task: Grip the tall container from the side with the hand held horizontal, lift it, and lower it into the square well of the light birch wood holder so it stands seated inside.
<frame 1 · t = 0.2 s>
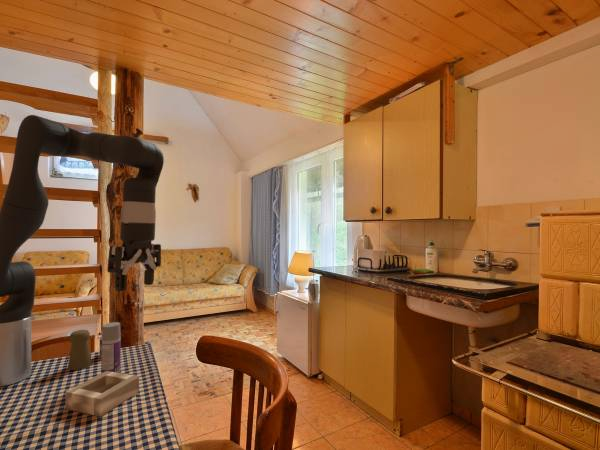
hand: (135, 287, 74), 29 cm above the table, tool pointing down, fingers open, 8 cm apart
container: (111, 376, 89), on the table
pill bottle: (107, 355, 103), on the table
olive pepper mill: (79, 366, 95), on the table
square holder: (103, 399, 77), on the table
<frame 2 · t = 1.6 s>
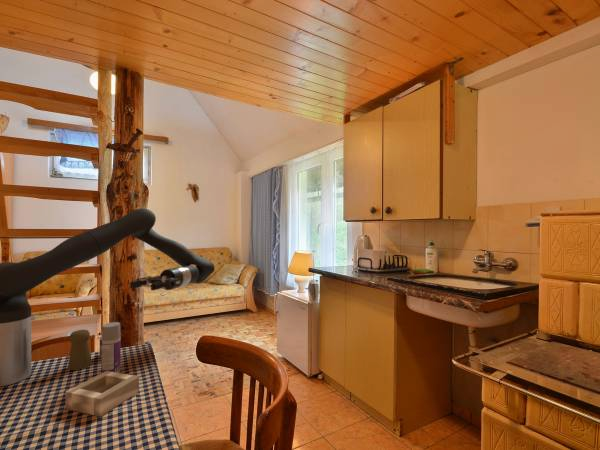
hand: (141, 286, 99), 24 cm above the table, tool horizontal, fingers open, 8 cm apart
nothing on the table moved.
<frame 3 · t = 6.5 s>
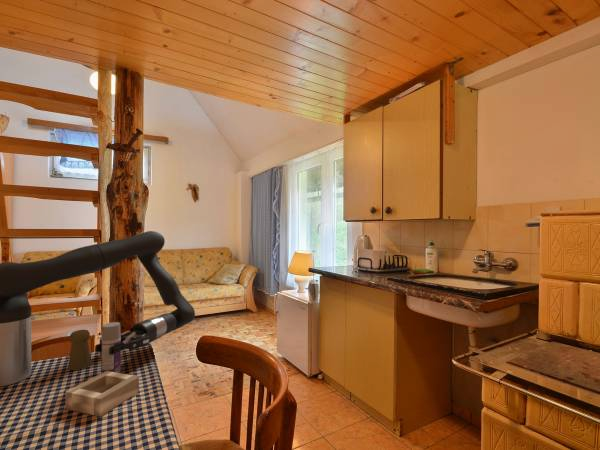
hand: (103, 350, 86), 9 cm above the table, tool horizontal, fingers closed on container, 4 cm apart
container: (111, 376, 89), on the table, touching gripper
everything else where it was.
when the fingers open (10 cm above the table, at t = 11.1 s): container drops 1 cm, resting in square holder.
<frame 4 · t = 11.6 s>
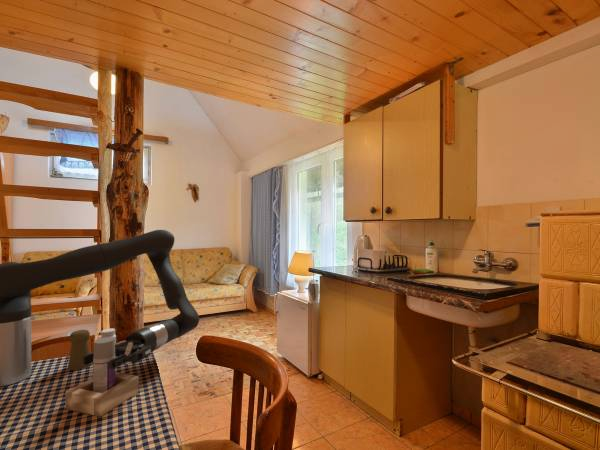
hand: (97, 363, 75), 10 cm above the table, tool horizontal, fingers open, 8 cm apart
container: (104, 400, 77), resting in square holder
everything else where it was.
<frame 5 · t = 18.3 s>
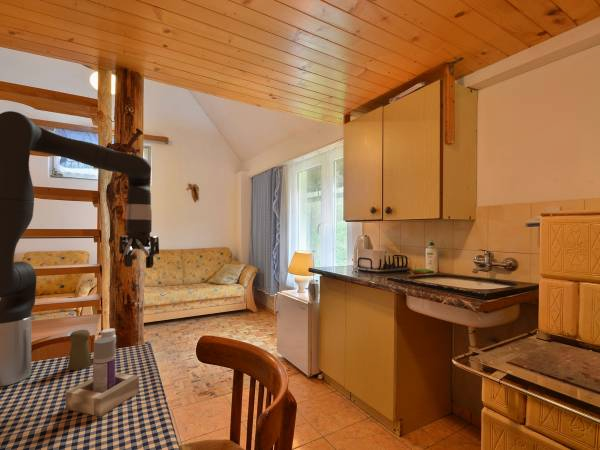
hand: (138, 267, 101), 30 cm above the table, tool pointing down, fingers open, 8 cm apart
nothing on the table moved.
at the end: container 0.1 cm off-centre on the square holder, point 0.0 cm above the square holder's base; container tilted 0°; the gripper is holding nothing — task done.
